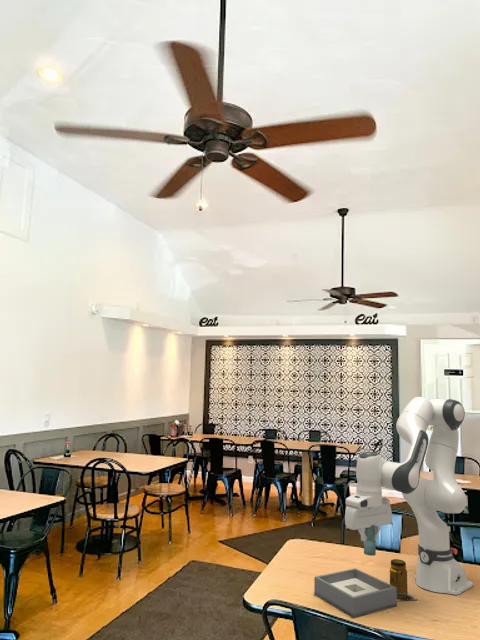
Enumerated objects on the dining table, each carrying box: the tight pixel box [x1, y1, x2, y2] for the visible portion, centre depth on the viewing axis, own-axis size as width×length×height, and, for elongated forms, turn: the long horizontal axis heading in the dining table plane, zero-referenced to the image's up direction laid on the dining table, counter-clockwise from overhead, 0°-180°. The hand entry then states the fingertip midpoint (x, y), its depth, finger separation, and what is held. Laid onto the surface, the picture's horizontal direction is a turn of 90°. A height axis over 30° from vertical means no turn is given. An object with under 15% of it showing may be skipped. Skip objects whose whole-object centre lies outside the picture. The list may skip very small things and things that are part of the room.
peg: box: [363, 525, 377, 557], centre depth 166 cm, size 4×4×10 cm
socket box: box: [313, 567, 398, 619], centre depth 166 cm, size 20×20×6 cm
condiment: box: [389, 558, 418, 602], centre depth 171 cm, size 7×8×12 cm
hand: (369, 539), depth 166 cm, fingers closed on peg, 4 cm apart
